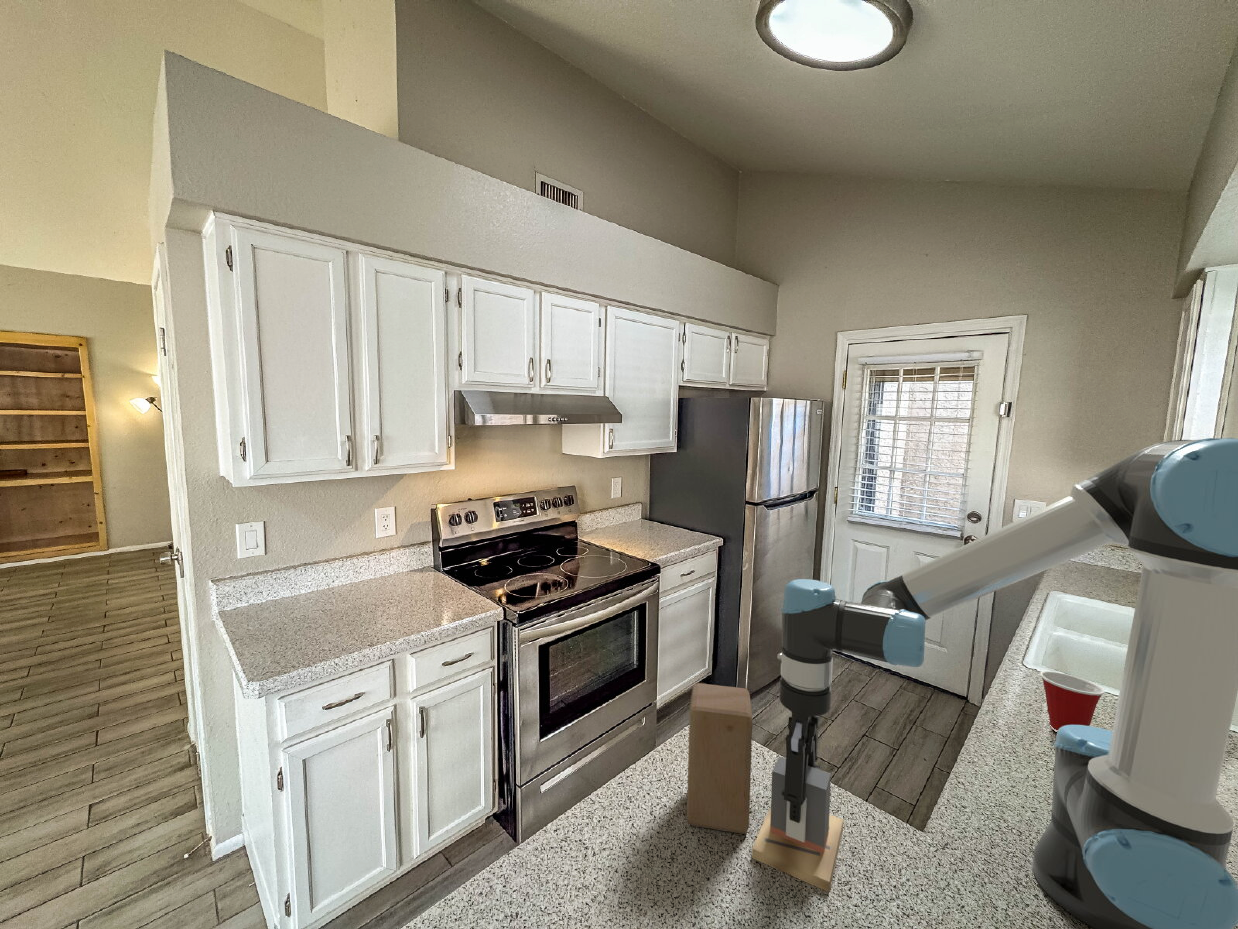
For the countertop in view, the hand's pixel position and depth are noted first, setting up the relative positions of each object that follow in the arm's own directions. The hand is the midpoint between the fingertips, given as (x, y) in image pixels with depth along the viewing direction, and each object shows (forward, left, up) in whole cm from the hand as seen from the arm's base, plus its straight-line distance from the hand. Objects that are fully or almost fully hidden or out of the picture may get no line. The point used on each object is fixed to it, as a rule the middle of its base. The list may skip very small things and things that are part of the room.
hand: (799, 823), depth 80 cm
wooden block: (+13, 0, -3) cm, 14 cm away
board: (0, 0, -3) cm, 3 cm away
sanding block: (0, 0, -2) cm, 2 cm away
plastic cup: (-45, -65, -3) cm, 79 cm away
